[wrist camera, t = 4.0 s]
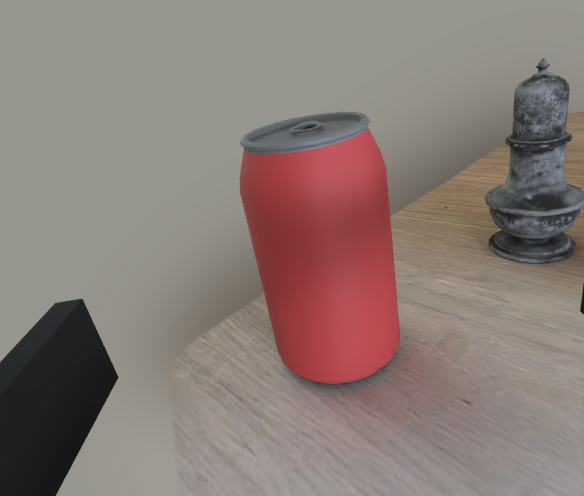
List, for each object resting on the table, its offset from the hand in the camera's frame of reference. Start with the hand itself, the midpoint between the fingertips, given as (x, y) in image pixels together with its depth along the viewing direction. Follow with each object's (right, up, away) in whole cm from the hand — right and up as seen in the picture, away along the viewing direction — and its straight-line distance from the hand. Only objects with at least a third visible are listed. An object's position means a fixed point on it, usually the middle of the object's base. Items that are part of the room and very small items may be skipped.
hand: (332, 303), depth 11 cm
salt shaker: (+15, +2, +18) cm, 24 cm away
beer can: (+2, -4, +12) cm, 13 cm away
